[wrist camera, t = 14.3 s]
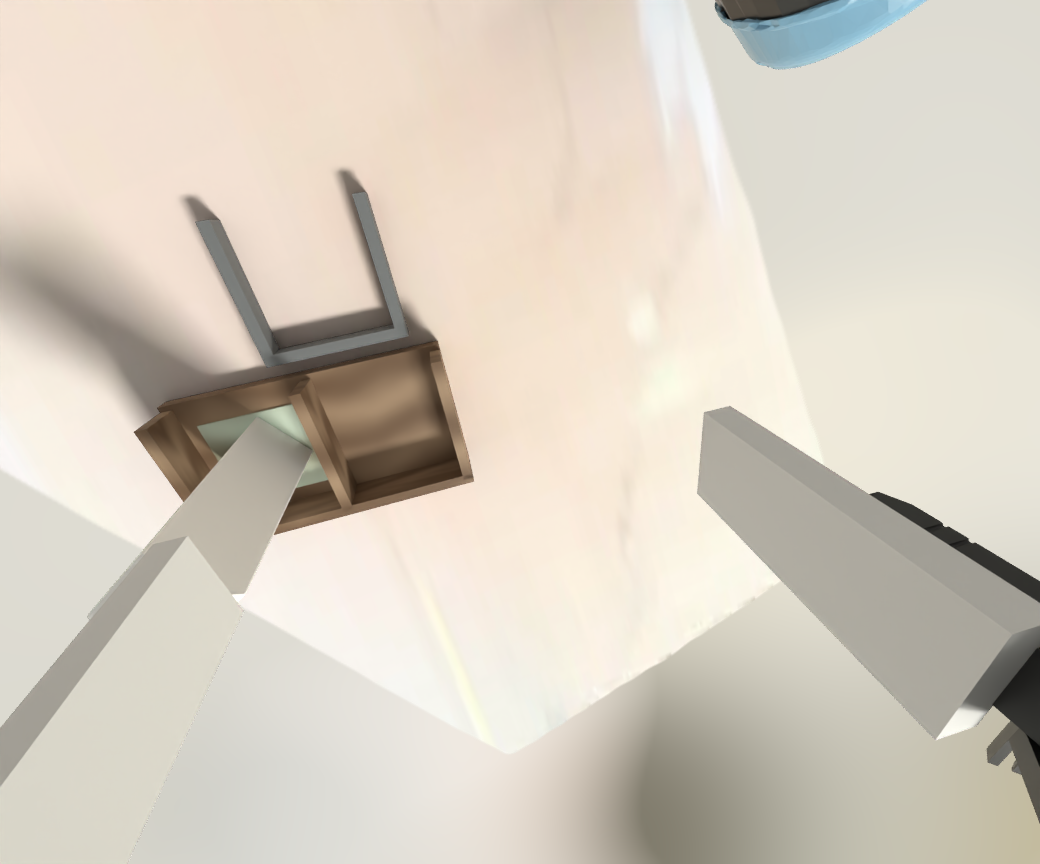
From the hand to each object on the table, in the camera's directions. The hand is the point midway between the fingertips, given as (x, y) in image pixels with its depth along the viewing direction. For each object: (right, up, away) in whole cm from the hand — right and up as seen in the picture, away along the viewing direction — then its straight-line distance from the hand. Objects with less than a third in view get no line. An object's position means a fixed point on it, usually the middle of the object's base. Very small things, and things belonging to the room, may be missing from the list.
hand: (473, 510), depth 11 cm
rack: (-18, +2, +33) cm, 37 cm away
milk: (-24, 0, +31) cm, 39 cm away
